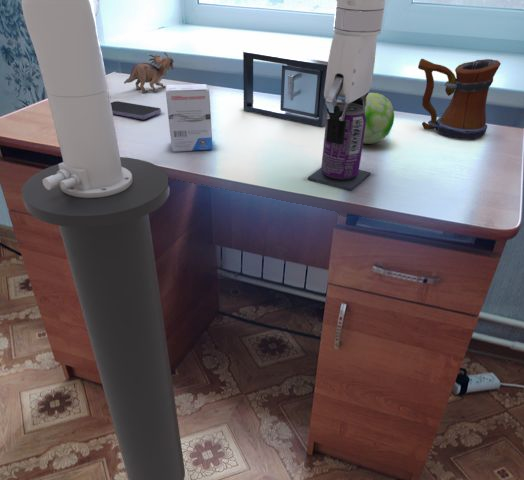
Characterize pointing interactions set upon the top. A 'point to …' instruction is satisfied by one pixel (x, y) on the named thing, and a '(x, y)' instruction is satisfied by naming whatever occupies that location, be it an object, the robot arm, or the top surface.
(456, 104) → the mug
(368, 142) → the decorative ball
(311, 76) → the sash
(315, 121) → the window frame
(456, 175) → the top surface
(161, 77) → the dinosaur figurine
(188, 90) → the ink box
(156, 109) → the smartphone
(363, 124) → the beverage can
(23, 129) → the top surface
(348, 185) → the coaster
